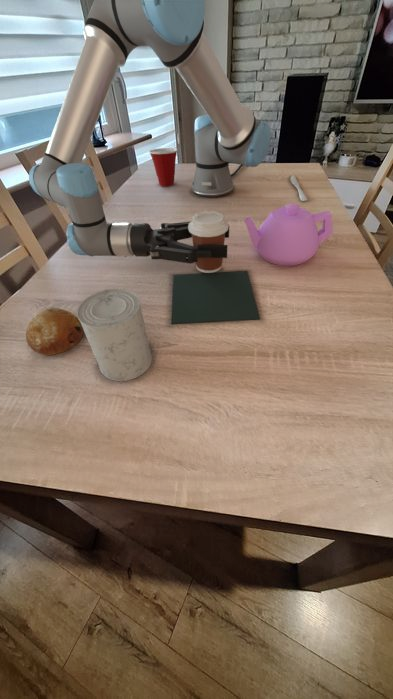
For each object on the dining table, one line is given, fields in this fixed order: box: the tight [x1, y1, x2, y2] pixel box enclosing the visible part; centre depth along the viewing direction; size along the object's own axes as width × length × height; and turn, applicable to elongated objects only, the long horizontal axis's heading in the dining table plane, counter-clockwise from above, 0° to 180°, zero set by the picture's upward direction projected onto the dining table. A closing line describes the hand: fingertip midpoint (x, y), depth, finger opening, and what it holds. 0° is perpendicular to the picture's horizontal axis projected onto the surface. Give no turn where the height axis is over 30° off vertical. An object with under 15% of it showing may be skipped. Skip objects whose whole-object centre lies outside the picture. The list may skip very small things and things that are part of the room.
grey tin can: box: [76, 288, 153, 382], centre depth 50 cm, size 10×10×12 cm
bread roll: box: [25, 306, 84, 356], centre depth 58 cm, size 10×10×8 cm
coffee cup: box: [188, 210, 230, 273], centre depth 70 cm, size 9×9×12 cm
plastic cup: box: [148, 147, 178, 187], centre depth 117 cm, size 11×11×12 cm
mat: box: [170, 270, 261, 325], centre depth 67 cm, size 18×18×1 cm
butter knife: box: [290, 175, 308, 202], centre depth 111 cm, size 1×27×3 cm
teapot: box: [243, 202, 334, 267], centre depth 74 cm, size 22×16×12 cm
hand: (228, 241), depth 69 cm, fingers closed on coffee cup, 9 cm apart
